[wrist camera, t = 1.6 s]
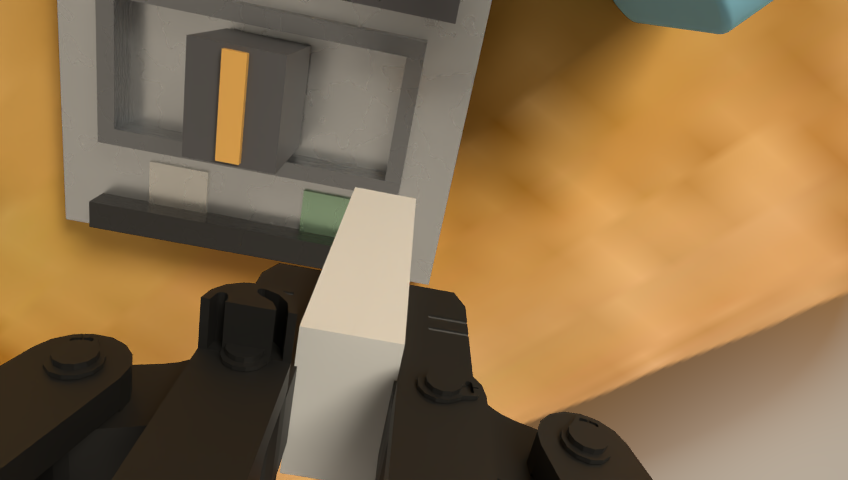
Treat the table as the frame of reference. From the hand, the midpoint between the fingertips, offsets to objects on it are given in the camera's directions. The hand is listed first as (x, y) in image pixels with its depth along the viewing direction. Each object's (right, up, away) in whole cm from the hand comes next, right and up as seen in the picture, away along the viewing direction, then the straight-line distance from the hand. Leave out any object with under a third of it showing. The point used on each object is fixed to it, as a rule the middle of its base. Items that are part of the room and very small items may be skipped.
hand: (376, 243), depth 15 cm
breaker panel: (-7, +8, +16) cm, 19 cm away
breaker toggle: (-7, +7, +14) cm, 17 cm away
